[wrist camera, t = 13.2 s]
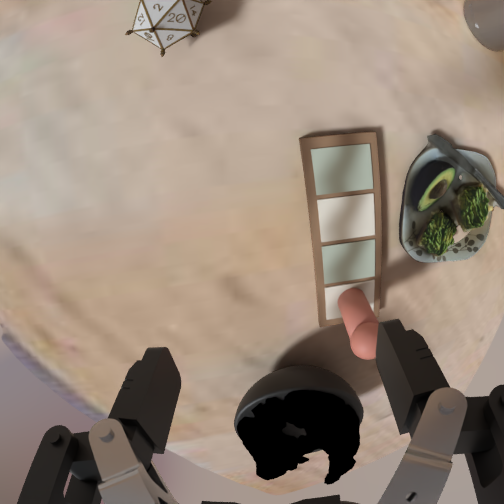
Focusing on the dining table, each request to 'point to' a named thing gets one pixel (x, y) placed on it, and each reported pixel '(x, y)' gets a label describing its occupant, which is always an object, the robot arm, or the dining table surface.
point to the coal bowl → (300, 421)
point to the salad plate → (447, 202)
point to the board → (344, 218)
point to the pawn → (359, 322)
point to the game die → (167, 21)
